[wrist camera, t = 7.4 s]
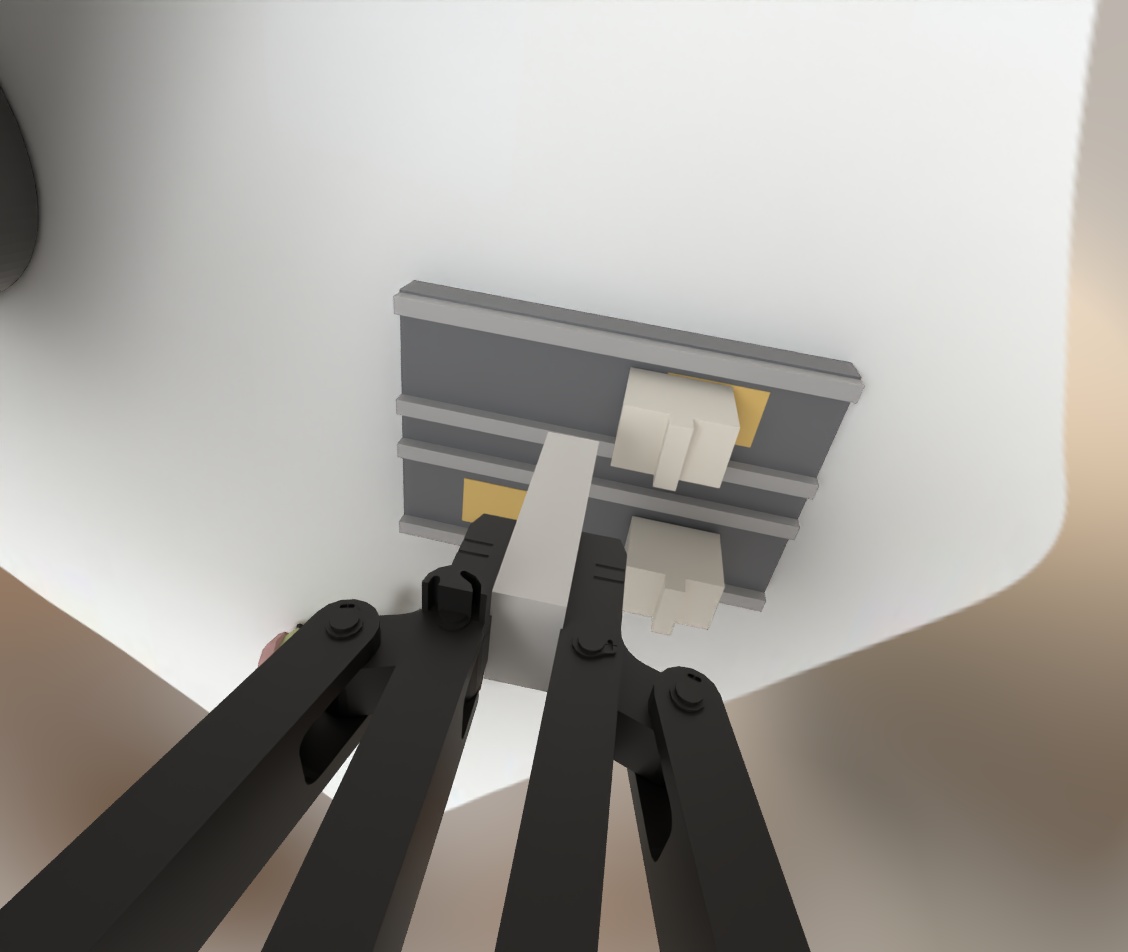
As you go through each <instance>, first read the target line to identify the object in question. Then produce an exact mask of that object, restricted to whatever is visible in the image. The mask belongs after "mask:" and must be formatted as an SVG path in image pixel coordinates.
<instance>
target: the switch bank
mask: <svg viewBox="0 0 1128 952" xmlns="http://www.w3.org/2000/svg"><path fill="white" fill-rule="evenodd" d="M394 314H397V315H400V330H401V381H402V394H401V395H400V396H399V397H398V398H397V399H396V413H397V414H399V415H402V432H403V438H402V439H401V440H400V441H399V442H398V443H397V452H398V457H401V458H403V483H404V515H403V517H402V518H401V520H400V521H399V530H400V533H405V534H409V535H414V536H418V537H423V538H427V539H432V540H436V541H441V542H446V543H450V544H455V545H459V546H461V543H462V541H463V540H464V537H465V535H466V533H467V530H468V528H469V526H470V524H471V523H472V522H474V521H475V520H476V519H477V518H479V517H480V516H481V515H482V514H484V513H485V514H490V515H495V516H500V517H505V518H510V519H515V520H517V519H518V516H519V513H520V511H521V508H522V505H523V502H524V499H525V496H526V494H527V491H528V488H529V485H530V482H531V480H532V477H533V474H534V471H535V468H536V465H537V463H538V460H539V457H540V454H541V451H542V448H543V446H544V443H545V440H546V437H547V434H548V432H553V433H558V434H563V435H568V436H573V437H579V438H584V439H589V440H594V441H599V445H598V450H597V455H596V460H595V465H594V471H593V476H592V481H591V486H590V491H589V496H588V501H587V506H586V511H585V517H584V522H583V527H582V532H587V533H592V534H597V535H602V536H607V537H612V538H617V539H620V540H621V542H622V544H623V546H624V547H625V543H626V539H627V535H628V532H629V528H630V524H631V520H632V516H636V517H640V518H645V519H650V520H654V521H659V522H664V523H669V524H673V525H678V526H683V527H688V528H692V529H697V530H702V531H706V532H711V533H716V534H720V543H721V553H722V564H723V575H724V585H725V588H724V590H723V593H722V595H721V598H720V601H719V603H724V604H728V605H733V606H737V607H742V608H746V609H751V610H756V611H760V612H761V611H762V609H763V607H764V605H765V602H766V599H765V593H764V592H765V590H766V588H767V586H768V583H769V581H770V579H771V577H772V575H773V572H774V570H775V568H776V566H777V564H778V561H779V559H780V557H781V555H782V552H783V550H784V548H785V546H786V544H787V541H788V539H791V540H794V539H795V537H796V535H797V533H798V530H799V528H800V527H799V523H798V520H797V519H798V517H799V515H800V513H801V510H802V508H803V506H804V504H805V501H806V499H807V498H808V499H813V498H814V496H815V493H816V491H817V489H818V487H819V484H818V482H817V479H816V477H817V475H818V473H819V470H820V468H821V466H822V464H823V462H824V459H825V457H826V455H827V453H828V451H829V448H830V446H831V444H832V442H833V439H834V437H835V435H836V433H837V431H838V428H839V426H840V424H841V422H842V420H843V417H844V415H845V413H846V411H847V408H848V406H849V404H850V402H853V403H857V402H858V400H859V398H860V395H861V393H862V391H863V389H864V387H865V386H864V384H863V383H862V381H861V376H860V374H859V373H858V371H857V370H856V369H855V367H854V366H853V364H852V363H850V362H845V361H839V360H834V359H829V358H823V357H818V356H813V355H807V354H802V353H797V352H792V351H786V350H781V349H776V348H770V347H765V346H760V345H754V344H749V343H744V342H739V341H733V340H728V339H723V338H717V337H712V336H707V335H701V334H696V333H691V332H686V331H680V330H675V329H670V328H664V327H659V326H654V325H648V324H643V323H638V322H633V321H627V320H622V319H617V318H611V317H606V316H601V315H595V314H590V313H585V312H580V311H574V310H569V309H564V308H558V307H553V306H548V305H543V304H537V303H532V302H527V301H521V300H516V299H511V298H505V297H500V296H495V295H490V294H484V293H479V292H474V291H468V290H463V289H458V288H452V287H447V286H442V285H437V284H431V283H426V282H421V281H415V280H414V281H412V282H411V283H409V284H408V285H406V286H404V287H403V288H401V289H400V292H399V293H398V294H396V295H394ZM631 367H633V368H638V369H644V370H649V371H654V372H659V373H664V374H669V375H675V376H680V377H685V378H690V379H695V380H700V381H705V382H711V383H716V384H721V385H726V386H731V387H733V392H734V398H735V403H736V408H737V413H738V418H739V424H740V430H739V433H738V436H737V439H736V442H735V445H734V448H733V450H732V453H731V456H730V459H729V462H728V465H727V468H726V471H725V474H724V477H723V479H722V482H721V485H720V488H715V487H711V486H706V485H701V484H696V483H691V482H686V481H681V480H679V481H678V484H677V488H676V491H671V490H667V489H662V488H657V487H653V478H654V475H652V474H648V473H643V472H638V471H633V470H628V469H623V468H618V467H614V466H611V461H612V455H613V450H614V445H615V440H616V435H617V430H618V425H619V420H620V415H621V410H622V406H623V401H624V396H625V392H626V387H627V382H628V378H629V373H630V368H631Z"/></svg>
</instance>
